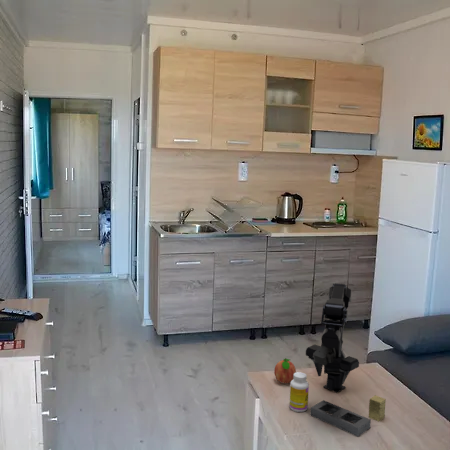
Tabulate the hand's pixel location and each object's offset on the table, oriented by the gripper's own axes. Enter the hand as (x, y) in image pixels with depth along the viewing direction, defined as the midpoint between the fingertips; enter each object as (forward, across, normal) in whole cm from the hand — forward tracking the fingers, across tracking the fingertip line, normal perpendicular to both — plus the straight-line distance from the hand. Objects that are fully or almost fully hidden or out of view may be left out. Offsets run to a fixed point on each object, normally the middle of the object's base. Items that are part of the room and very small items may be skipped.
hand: (330, 380), depth 185 cm
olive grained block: (+13, +13, +11) cm, 21 cm away
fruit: (+13, -27, +9) cm, 32 cm away
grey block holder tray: (+13, +5, -1) cm, 14 cm away
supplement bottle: (+13, -10, -4) cm, 17 cm away
